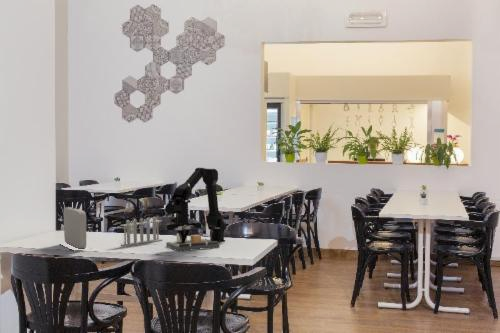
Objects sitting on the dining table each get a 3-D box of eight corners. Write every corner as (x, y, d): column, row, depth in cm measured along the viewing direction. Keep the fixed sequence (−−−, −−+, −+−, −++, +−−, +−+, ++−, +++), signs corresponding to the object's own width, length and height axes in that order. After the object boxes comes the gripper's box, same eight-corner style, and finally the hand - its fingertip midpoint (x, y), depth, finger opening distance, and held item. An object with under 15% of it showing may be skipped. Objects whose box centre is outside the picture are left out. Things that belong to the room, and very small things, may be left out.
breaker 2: (197, 242, 372) (197, 234, 372) (201, 243, 368) (201, 235, 368) (190, 243, 370) (190, 235, 370) (193, 244, 366) (193, 236, 366)
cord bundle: (216, 243, 372) (216, 240, 372) (218, 243, 370) (218, 240, 370) (178, 246, 362) (178, 243, 362) (179, 247, 360) (179, 244, 360)
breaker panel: (205, 242, 386) (205, 238, 386) (219, 247, 370) (219, 243, 370) (166, 246, 376) (166, 242, 376) (179, 251, 360) (179, 246, 360)
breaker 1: (183, 240, 379) (183, 233, 378) (187, 241, 375) (186, 234, 374) (176, 241, 377) (176, 233, 377) (179, 242, 373) (179, 234, 373)
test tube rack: (125, 246, 376) (125, 221, 376) (120, 245, 379) (119, 220, 379) (162, 240, 395) (162, 216, 394) (157, 240, 398) (156, 216, 397)
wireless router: (94, 250, 366) (93, 210, 365) (75, 252, 361) (74, 212, 360) (75, 242, 393) (74, 205, 392) (57, 243, 388) (56, 206, 386)
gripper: (193, 209, 377) (194, 239, 378) (159, 211, 368) (160, 242, 369) (202, 211, 367) (202, 242, 368) (167, 214, 358) (167, 245, 359)
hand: (183, 242), depth 366 cm, fingers closed
